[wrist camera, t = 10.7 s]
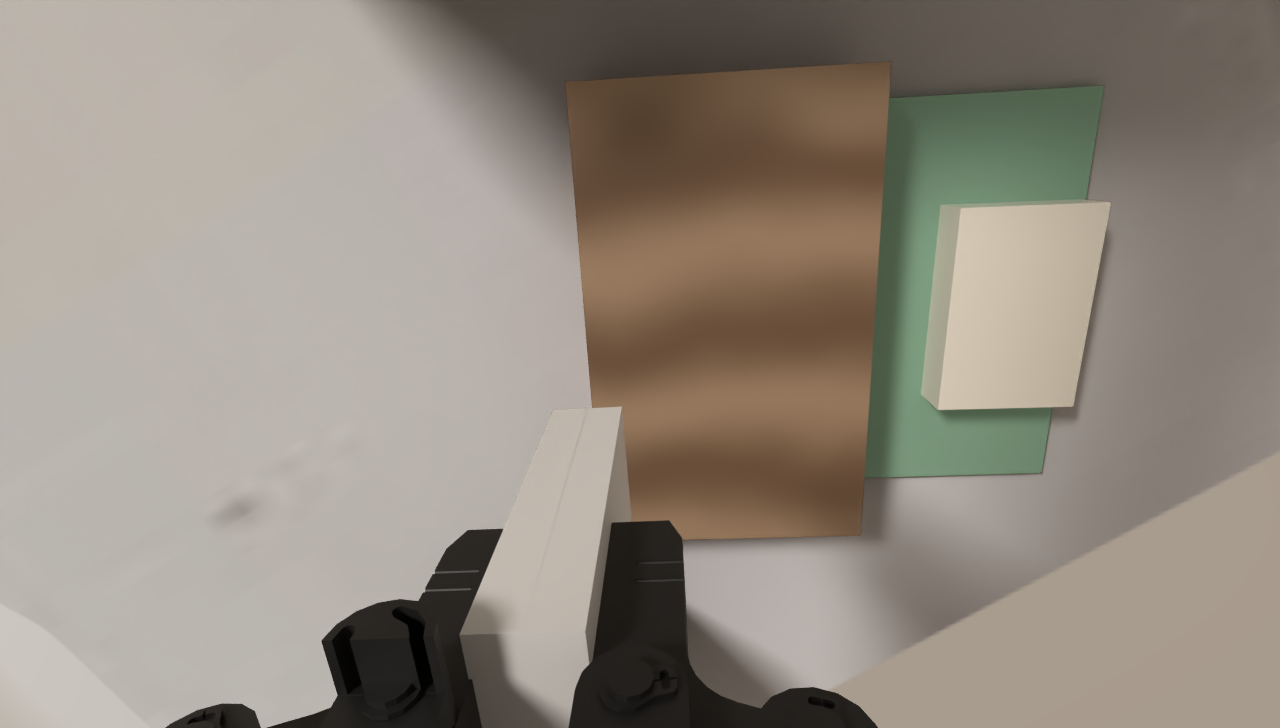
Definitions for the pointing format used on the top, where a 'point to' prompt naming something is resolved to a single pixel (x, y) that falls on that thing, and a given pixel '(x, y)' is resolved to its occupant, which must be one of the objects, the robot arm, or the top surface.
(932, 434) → the mat
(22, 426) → the top surface
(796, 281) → the wood grain block
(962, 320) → the tile
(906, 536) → the top surface
